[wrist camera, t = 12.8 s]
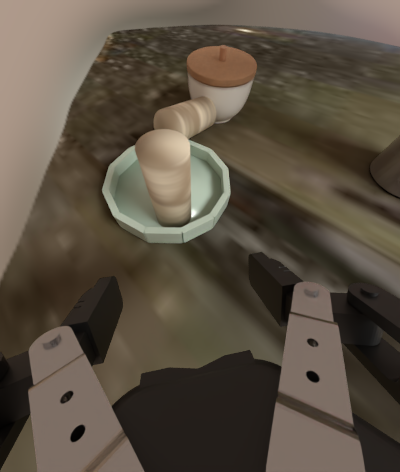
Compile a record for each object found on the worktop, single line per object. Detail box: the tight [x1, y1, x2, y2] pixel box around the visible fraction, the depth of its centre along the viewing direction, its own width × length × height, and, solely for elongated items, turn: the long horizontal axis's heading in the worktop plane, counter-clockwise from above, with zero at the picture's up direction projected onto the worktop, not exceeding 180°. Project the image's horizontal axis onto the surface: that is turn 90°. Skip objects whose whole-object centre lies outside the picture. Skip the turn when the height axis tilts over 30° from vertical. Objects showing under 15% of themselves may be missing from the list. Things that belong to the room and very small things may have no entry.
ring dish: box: [102, 140, 231, 243], centre depth 26 cm, size 16×16×3 cm
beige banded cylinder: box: [154, 96, 216, 139], centre depth 27 cm, size 4×4×10 cm
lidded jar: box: [187, 45, 257, 124], centre depth 31 cm, size 11×11×9 cm
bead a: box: [135, 129, 191, 228], centre depth 20 cm, size 4×4×10 cm
